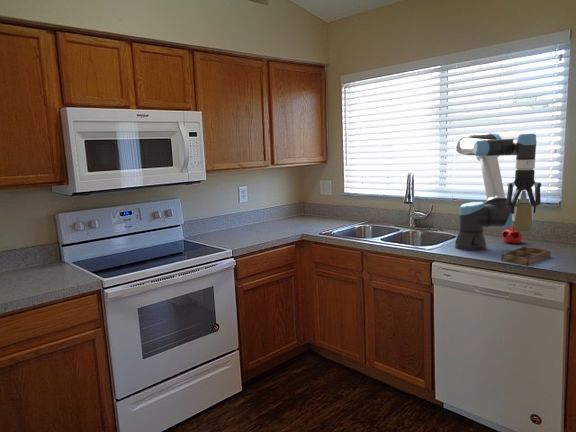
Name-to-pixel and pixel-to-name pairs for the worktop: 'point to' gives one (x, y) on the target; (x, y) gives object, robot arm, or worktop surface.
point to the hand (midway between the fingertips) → (522, 220)
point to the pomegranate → (512, 236)
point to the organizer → (525, 255)
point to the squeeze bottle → (523, 214)
